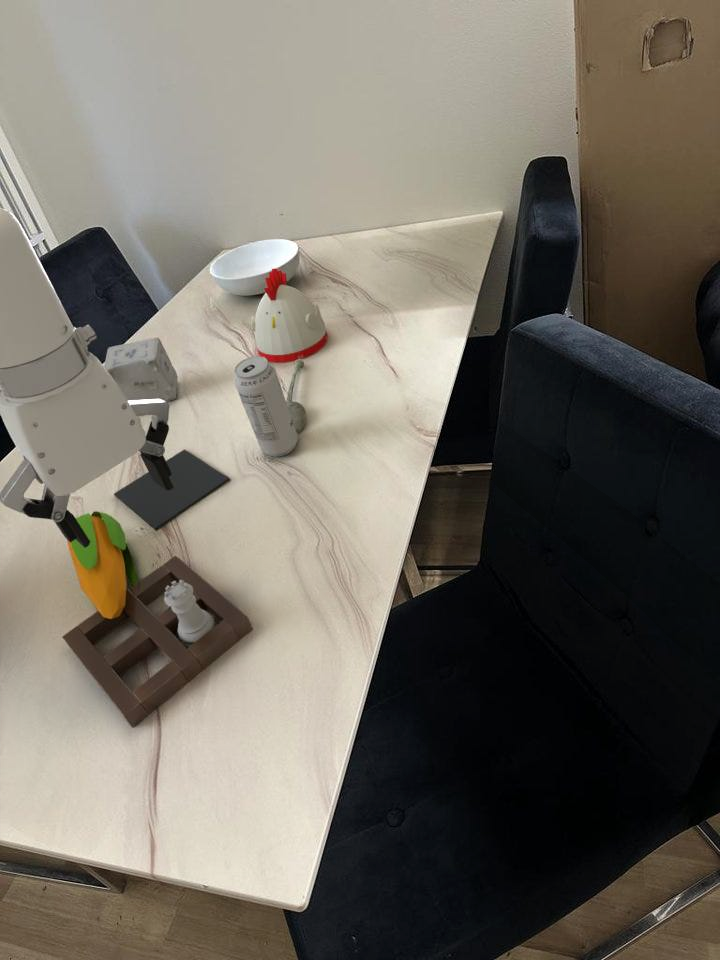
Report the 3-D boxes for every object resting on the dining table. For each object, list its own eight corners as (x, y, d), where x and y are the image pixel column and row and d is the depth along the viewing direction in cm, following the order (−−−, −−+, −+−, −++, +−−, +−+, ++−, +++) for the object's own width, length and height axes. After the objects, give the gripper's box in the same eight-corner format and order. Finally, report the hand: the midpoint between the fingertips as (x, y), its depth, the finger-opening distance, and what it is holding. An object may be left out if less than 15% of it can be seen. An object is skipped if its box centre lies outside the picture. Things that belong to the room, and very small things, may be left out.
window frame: (132, 728, 69) (123, 716, 67) (70, 647, 79) (61, 636, 78) (253, 628, 76) (247, 616, 75) (181, 566, 86) (175, 555, 85)
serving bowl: (202, 295, 157) (192, 267, 153) (271, 261, 166) (264, 234, 162) (251, 314, 144) (242, 284, 139) (323, 275, 153) (317, 246, 148)
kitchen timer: (247, 363, 126) (222, 289, 117) (273, 328, 136) (252, 257, 127) (315, 361, 122) (295, 284, 113) (336, 325, 132) (319, 251, 122)
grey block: (123, 416, 120) (98, 366, 113) (131, 392, 126) (108, 343, 120) (175, 405, 119) (153, 354, 113) (181, 381, 126) (160, 332, 119)
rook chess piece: (181, 655, 75) (155, 610, 70) (180, 625, 78) (155, 580, 73) (220, 643, 75) (196, 597, 70) (217, 614, 79) (194, 568, 74)
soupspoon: (265, 443, 106) (306, 440, 105) (260, 426, 103) (302, 423, 103) (283, 368, 122) (318, 364, 121) (279, 352, 120) (315, 348, 119)
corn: (101, 486, 89) (132, 575, 75) (127, 525, 94) (161, 616, 79) (48, 513, 88) (69, 609, 73) (78, 551, 93) (103, 649, 78)
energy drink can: (307, 441, 102) (280, 361, 92) (278, 464, 100) (247, 384, 89) (282, 428, 106) (254, 349, 95) (254, 449, 103) (222, 371, 93)
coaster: (156, 530, 93) (155, 528, 93) (114, 495, 101) (113, 493, 101) (230, 480, 99) (229, 477, 98) (185, 451, 107) (184, 449, 107)
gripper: (109, 311, 63) (175, 454, 73) (-74, 403, 54) (30, 548, 65) (148, 327, 58) (213, 477, 68) (-45, 430, 50) (62, 582, 60)
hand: (124, 511), depth 67 cm, fingers open, 9 cm apart
